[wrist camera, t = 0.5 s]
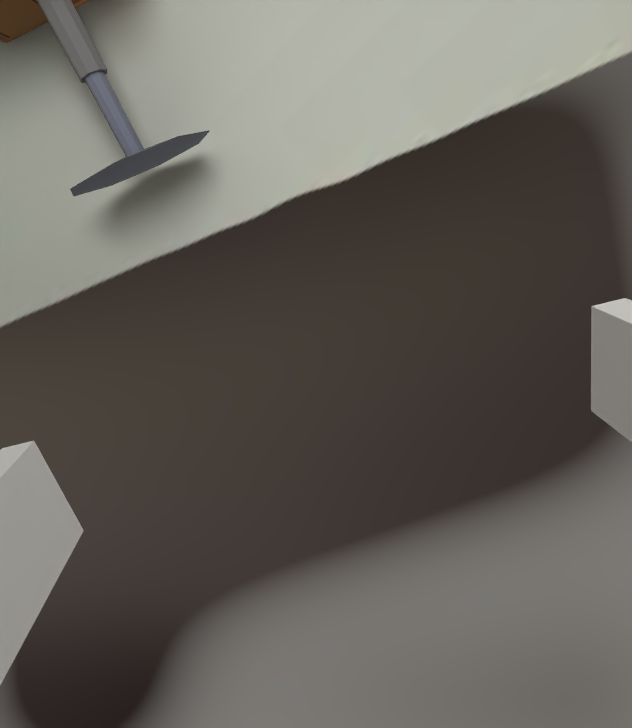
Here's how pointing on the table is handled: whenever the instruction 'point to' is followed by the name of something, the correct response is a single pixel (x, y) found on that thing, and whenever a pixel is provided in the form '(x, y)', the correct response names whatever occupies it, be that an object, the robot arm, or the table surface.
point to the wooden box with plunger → (91, 86)
